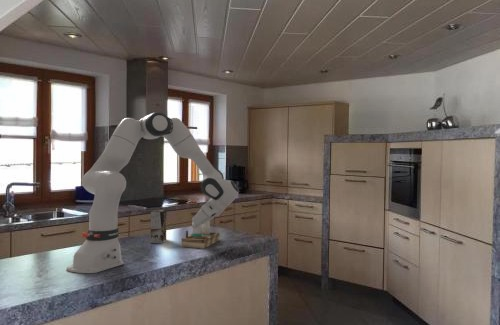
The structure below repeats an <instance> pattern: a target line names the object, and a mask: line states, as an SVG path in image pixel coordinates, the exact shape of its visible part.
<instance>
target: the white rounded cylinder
mask: <svg viewBox="0 0 500 325" xmlns="http://www.w3.org/2000/svg"><path fill="white" fill-rule="evenodd" d="M192 219H193V217H192ZM192 219H191V220H192ZM191 223H192V225H193V224H194V223H193V222H192V221H191ZM192 225H191V227H192ZM191 230H192V231H191V234H192V237H201V236H202V224H199V225H198V226H197V227H196V228H193V227H192V229H191Z"/></svg>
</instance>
